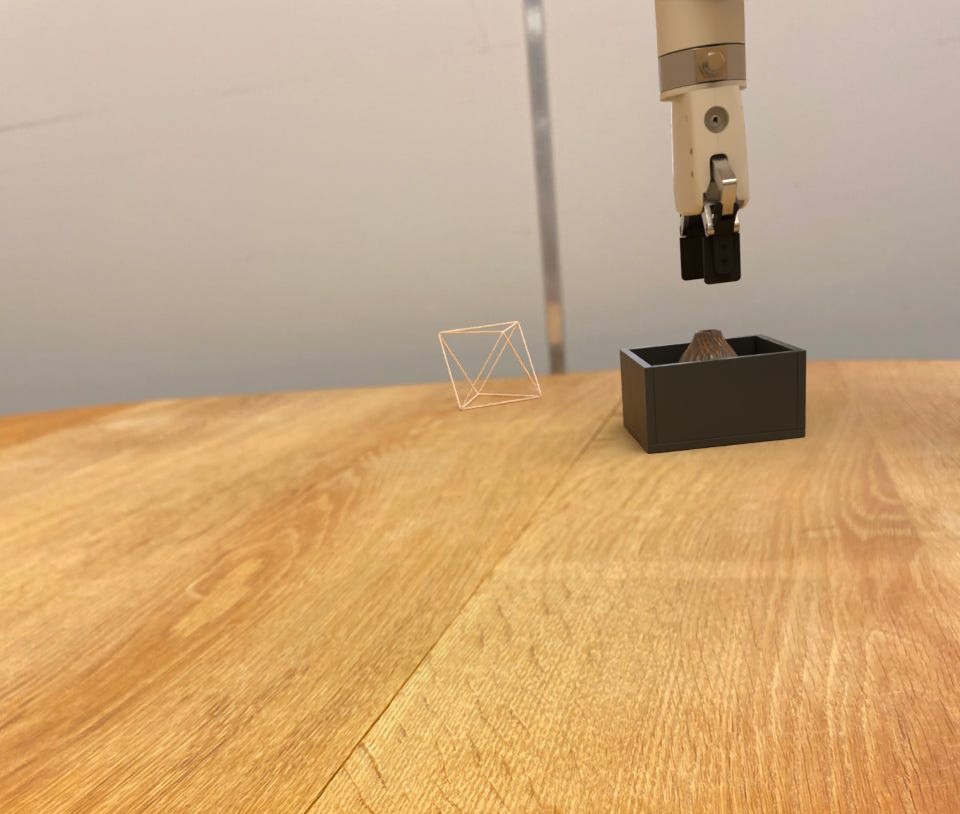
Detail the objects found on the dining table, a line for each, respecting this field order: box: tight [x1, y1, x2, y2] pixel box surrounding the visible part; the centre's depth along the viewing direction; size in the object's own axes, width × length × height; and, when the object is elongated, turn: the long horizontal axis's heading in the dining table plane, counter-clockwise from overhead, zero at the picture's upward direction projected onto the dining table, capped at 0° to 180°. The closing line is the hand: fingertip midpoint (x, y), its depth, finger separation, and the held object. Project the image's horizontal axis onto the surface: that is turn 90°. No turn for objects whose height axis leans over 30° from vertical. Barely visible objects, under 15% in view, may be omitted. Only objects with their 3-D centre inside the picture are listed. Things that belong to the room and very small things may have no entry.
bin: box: [619, 333, 807, 454], centre depth 103 cm, size 15×15×8 cm
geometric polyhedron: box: [437, 320, 543, 411], centre depth 133 cm, size 12×11×9 cm
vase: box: [678, 328, 738, 363], centre depth 103 cm, size 7×7×9 cm
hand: (709, 280), depth 99 cm, fingers open, 9 cm apart
